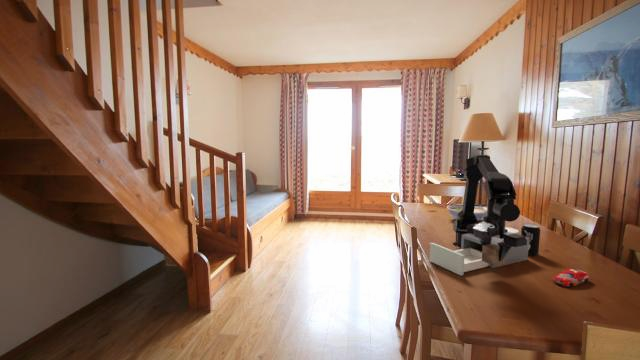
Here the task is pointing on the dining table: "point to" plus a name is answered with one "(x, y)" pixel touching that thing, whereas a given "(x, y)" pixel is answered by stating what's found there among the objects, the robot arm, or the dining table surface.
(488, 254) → the walnut block
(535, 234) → the beverage can
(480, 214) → the ramen bowl
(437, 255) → the tray
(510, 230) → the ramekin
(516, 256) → the housing
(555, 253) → the dining table surface
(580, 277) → the race car
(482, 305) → the dining table surface
